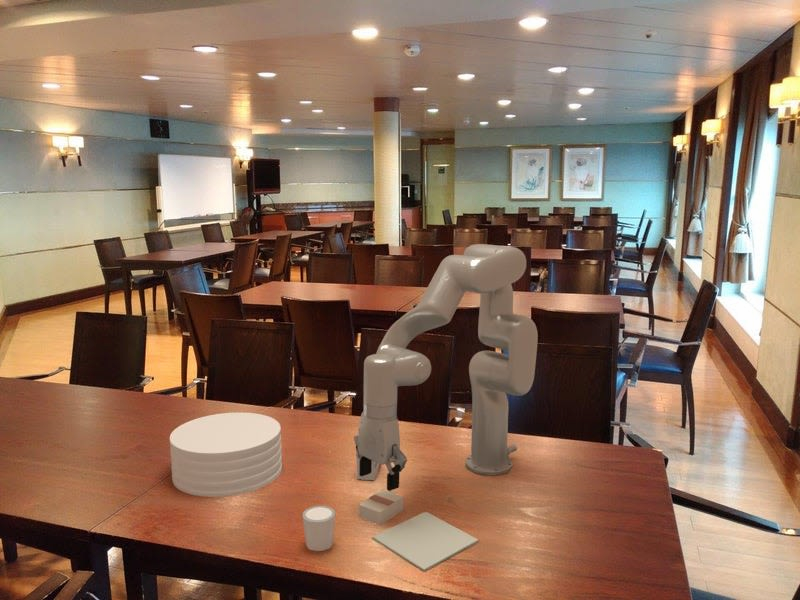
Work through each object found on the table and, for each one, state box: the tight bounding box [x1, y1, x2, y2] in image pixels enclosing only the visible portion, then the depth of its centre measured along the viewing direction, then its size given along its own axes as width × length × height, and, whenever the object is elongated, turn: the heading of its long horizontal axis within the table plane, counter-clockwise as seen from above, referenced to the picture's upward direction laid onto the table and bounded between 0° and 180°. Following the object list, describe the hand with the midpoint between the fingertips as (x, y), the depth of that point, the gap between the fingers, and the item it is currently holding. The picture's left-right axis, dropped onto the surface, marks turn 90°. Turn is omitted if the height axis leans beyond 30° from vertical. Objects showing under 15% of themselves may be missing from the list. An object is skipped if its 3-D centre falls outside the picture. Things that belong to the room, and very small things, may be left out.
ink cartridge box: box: [355, 433, 382, 481], centre depth 167 cm, size 9×5×15 cm, turn 168°
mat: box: [371, 511, 479, 573], centre depth 137 cm, size 16×16×1 cm
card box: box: [358, 489, 404, 526], centre depth 148 cm, size 9×6×4 cm, turn 144°
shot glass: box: [302, 505, 336, 552], centre depth 135 cm, size 7×7×7 cm
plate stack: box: [169, 412, 283, 498], centre depth 169 cm, size 28×28×12 cm
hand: (378, 481), depth 146 cm, fingers open, 9 cm apart
